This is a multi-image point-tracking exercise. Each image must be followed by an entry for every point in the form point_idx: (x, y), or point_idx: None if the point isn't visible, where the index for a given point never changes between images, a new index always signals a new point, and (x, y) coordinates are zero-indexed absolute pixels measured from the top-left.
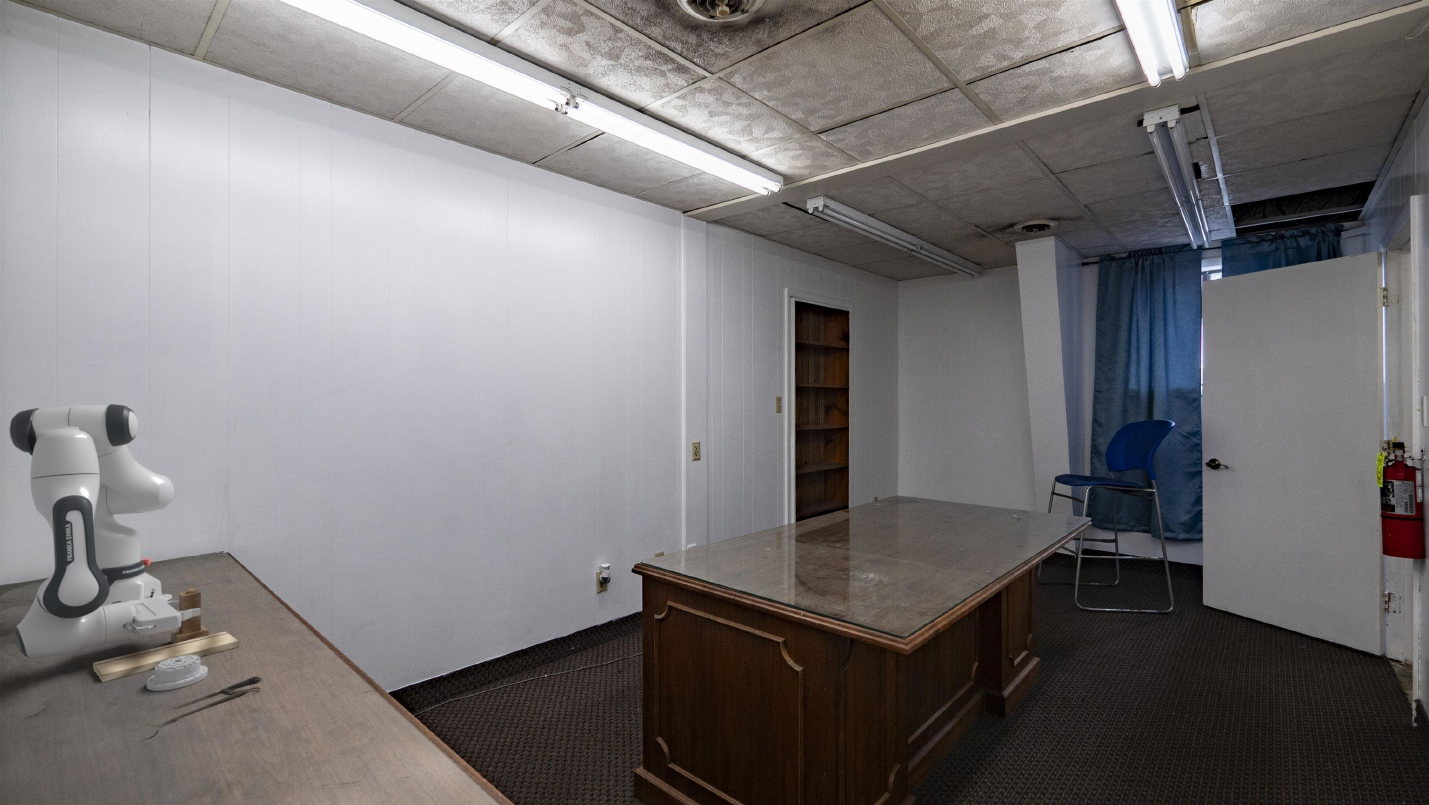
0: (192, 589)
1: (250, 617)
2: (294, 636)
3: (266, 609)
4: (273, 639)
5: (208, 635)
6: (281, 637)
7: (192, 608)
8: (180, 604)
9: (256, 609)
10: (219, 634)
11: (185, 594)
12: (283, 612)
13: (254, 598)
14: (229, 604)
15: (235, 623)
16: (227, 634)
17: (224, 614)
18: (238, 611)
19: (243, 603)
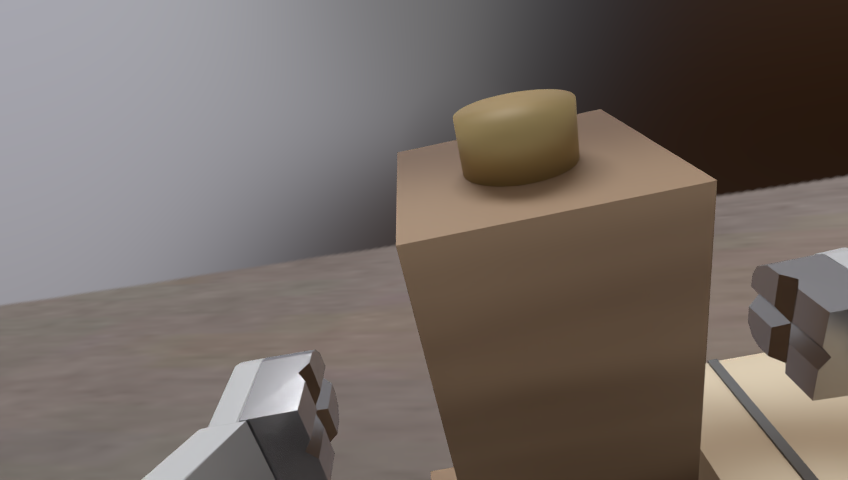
0: (538, 93)
1: (336, 320)
2: (805, 208)
3: (279, 284)
4: (825, 250)
5: (705, 459)
6: (800, 234)
7: (837, 294)
8: (540, 395)
9: (235, 307)
10: (716, 400)
11: (618, 174)
12: (386, 248)
13: (71, 315)
14: (16, 382)
15: (377, 365)
16: (745, 363)
17: (149, 401)
18: (178, 355)
19: (83, 342)
